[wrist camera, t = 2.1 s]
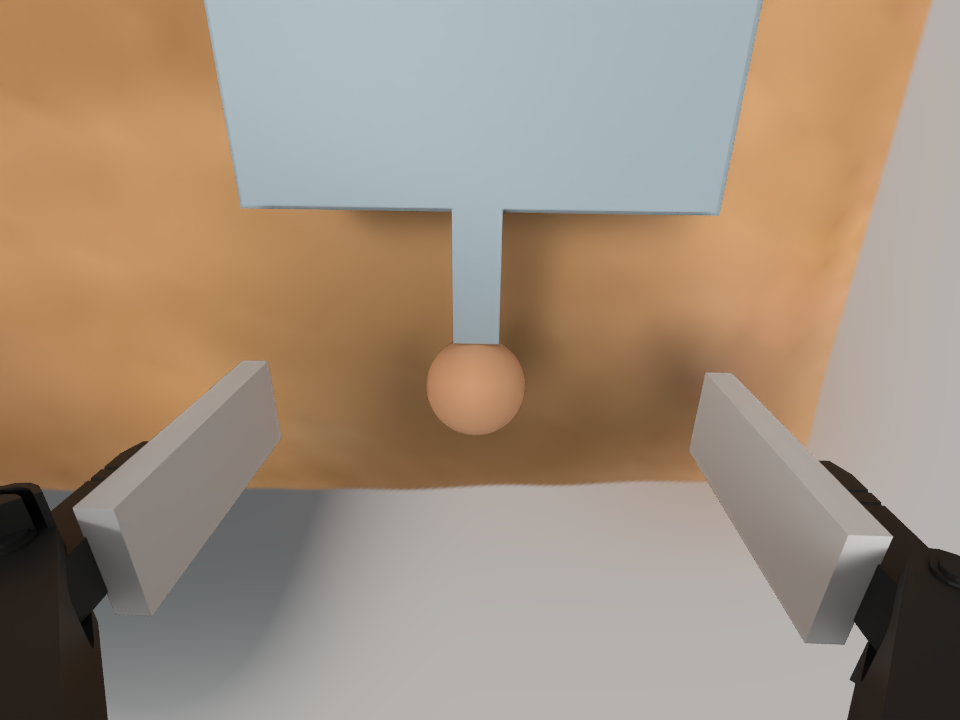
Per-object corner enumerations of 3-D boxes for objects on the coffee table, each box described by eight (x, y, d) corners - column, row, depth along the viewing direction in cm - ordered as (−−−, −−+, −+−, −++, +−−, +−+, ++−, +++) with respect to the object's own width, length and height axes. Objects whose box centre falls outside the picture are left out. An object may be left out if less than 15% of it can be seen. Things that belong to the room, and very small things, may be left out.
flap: (301, 400, 19) (265, 450, 16) (166, -482, 10) (33, -731, 7) (654, 408, 18) (685, 460, 15) (813, -488, 10) (946, -748, 7)
